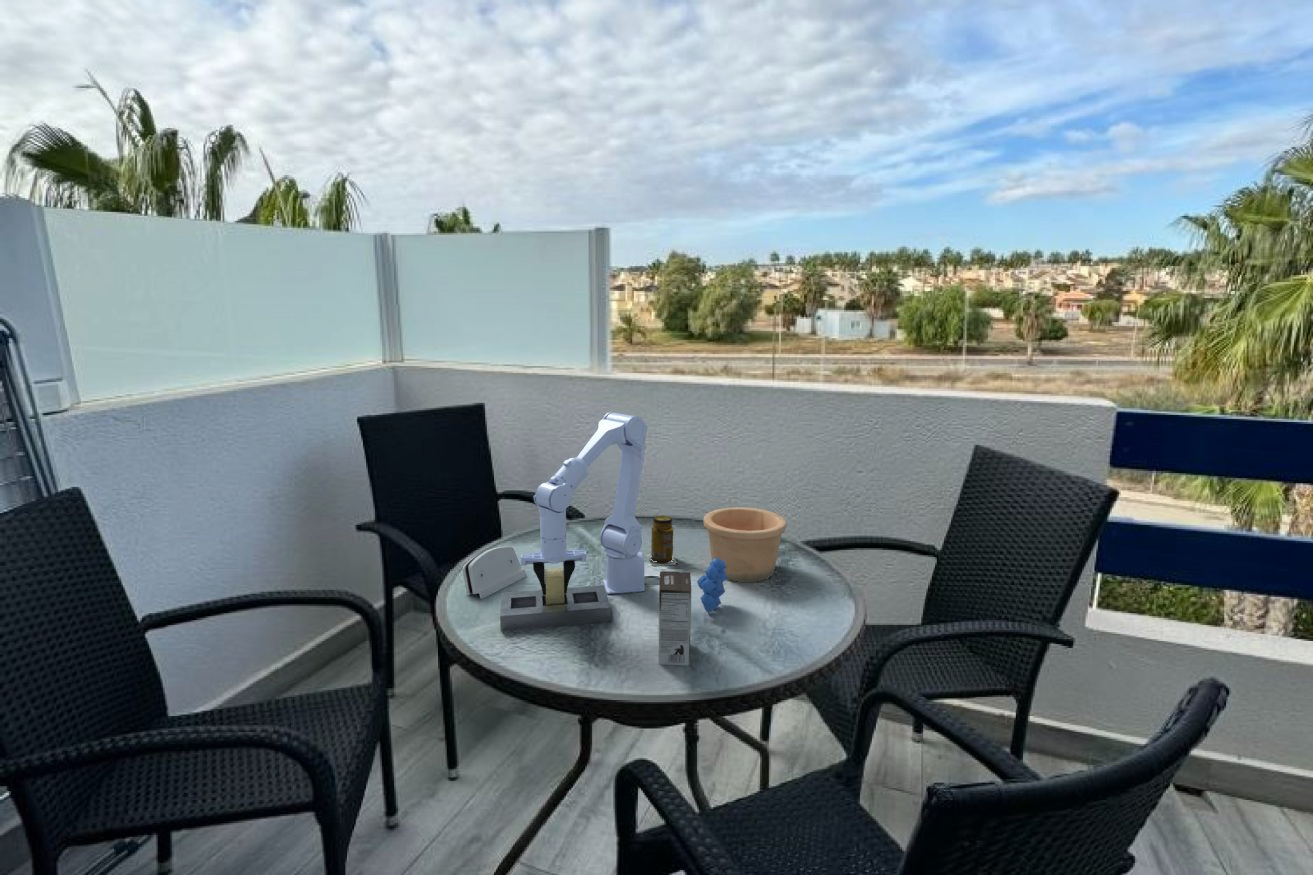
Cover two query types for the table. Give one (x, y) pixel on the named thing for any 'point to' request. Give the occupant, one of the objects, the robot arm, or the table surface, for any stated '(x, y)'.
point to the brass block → (554, 586)
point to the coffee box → (674, 618)
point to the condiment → (662, 541)
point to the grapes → (713, 584)
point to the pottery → (745, 541)
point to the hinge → (492, 571)
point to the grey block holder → (554, 608)
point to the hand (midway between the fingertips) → (554, 592)
